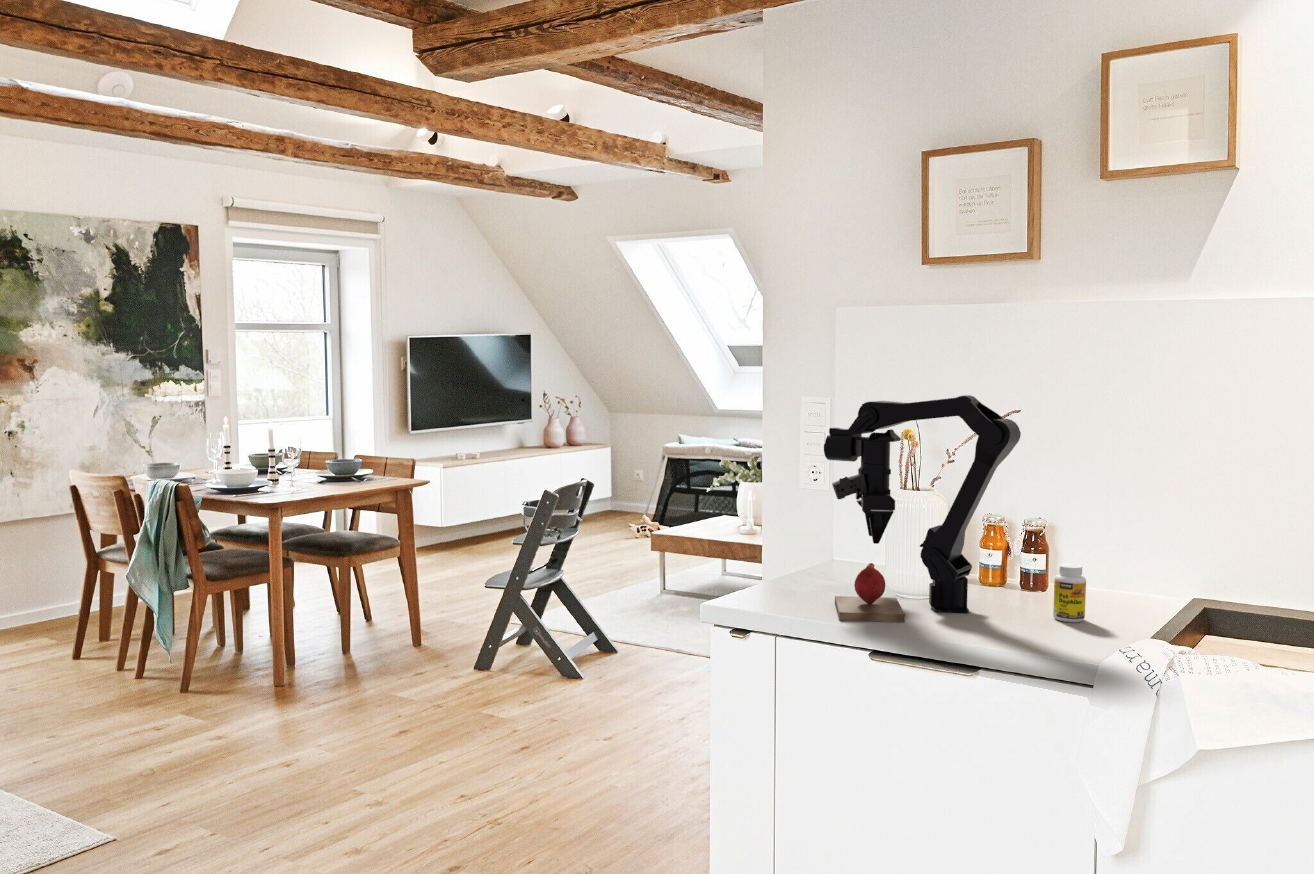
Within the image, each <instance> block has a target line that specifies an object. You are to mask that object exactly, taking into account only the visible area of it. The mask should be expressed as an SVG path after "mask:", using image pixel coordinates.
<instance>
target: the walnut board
mask: <svg viewBox="0 0 1314 874" xmlns="http://www.w3.org/2000/svg"><path fill="white" fill-rule="evenodd" d="M834 606H835V610H836V613H837V617H838V621H847V622H848V621H850V622H851V621H853V622H854V621H855V622H886V623H888V622H889V623H895V622H896V623H905V621H906V613H905V611H904V609H903V608H902V606H901V603H899V601H898V599H897V597H890V596H889V597H887V596H886V597H885V596H881V597H880V598H879V599H877V600H876V601H875V602H874V603H873V604H867V603H866V602H865V601H863V600H862V599H861V598H860V597H859V596H852V595H849V596H846V595H844V596H843V595H834Z"/></svg>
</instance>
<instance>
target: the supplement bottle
mask: <svg viewBox="0 0 1314 874" xmlns="http://www.w3.org/2000/svg"><path fill="white" fill-rule="evenodd" d="M1058 573H1059V574H1056V575H1055V576H1054V585H1053V589H1054V590H1053V608H1052V609H1053V610H1052V611H1053V612H1052V613H1053V618H1054V619H1055V620H1056V621H1061V622H1064V623H1065V622H1066V623H1080V622H1083V621H1084V620H1085V617H1086V615H1085V614H1086V598H1087V596H1086V594H1087V578H1086V577H1085V576H1084V575H1083V566H1081V565H1078V564H1074V563H1073V564H1072V563H1062V564H1059V569H1058Z"/></svg>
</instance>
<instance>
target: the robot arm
mask: <svg viewBox="0 0 1314 874" xmlns="http://www.w3.org/2000/svg"><path fill="white" fill-rule="evenodd" d="M950 417H959V418H960V419H961V420H963V422H964V423H965V424H966V426H968V428H969V429H970V430H971V431H973V433H975V434H976V435H977V440H976V442H975V451H974V459H973V462H972V464H971V466H970V468H969V470H968V472H967V474H966V476H965V478H964V480H963V483H962V484H961V486H960V488H959V490H958V493H957V495H956V497H955V498H954V500H953V503H952V505H951V506H950V509H949V511H948V513H947V515H946V516H945V518H944V521H943V522H942V524H939V525H936V526H933V527H929V528H928V529H927V533H926V536H925V538H924V540H923V542H922V543H921V544H920V545H919V547H920V548H921V551H920V558H921V561H922V563H923V565H924V566H925V568H926V569H927V571H928V575H929V578H930V580H932V582H930V583H929V584H928V585H929V589H928V593H929V594H928V597H929V598H928V604H929V606H930V607H931V608H932V610H933V611H934V612H946V613H947V612H950V613H952V612H954V613H969V612H970V609H969V608H968V588H969V585H968V584H969V580H968V579H969V578H968V577H966V576H970V574H971V571H972V569H973V565H972V564H971V562H970V561H969V560H968V559H967V558H966V557H965V556H964V555H963V554H962V552H963V549H964V545H965V539H966V538H965V537H966V536H965V535H966V530H967V528H968V526H969V524H970V522H971V519H972V517H973V515H974V514H975V512H976V510H977V508H978V507H979V504H980V502H981V499H982V497H983V496H984V493H985V492H986V490H987V489H988V486H989V484H990V482H991V480H992V478H993V476H994V473H995V472H996V471H997V468H998V467H999V466H1000V465H1001V464H1002V462H1003V461H1004V460H1005V459H1006V458H1007V457H1008V456H1009V455H1010V453H1011V452H1012V451H1013V450H1014V448H1015V447H1016V446H1017V445H1018V443H1019V442H1020V439H1021V435H1022V434H1021V431H1020V427H1019V426H1018V424H1017V422H1015V421H1013V420H1012V419H1010V418H1004V417H1002V416H1001V415H1000V414H999V413H997V412H996V411H995V410H993V409H991V408H989V407H988V406H986V405H985V404H983V402H981V401H980V400H978V398H976V397H975V396H973V395H970V394H969V395H967V394H965V395H959V396H957V397H949V398H940V399H932V400H925V401H924V400H923V401H914V402H901V401H889V400H875V401H867V402H864V403H862V404H861V405H860V407H859V410H858V413H857V417H856V418H855V419H854V421H853V422H852V424H851V425H850V427H848V428H841V427H836V426H835V427H829V430H828V434H827V436H826V438H825V441H824V443H823V453H824V457H825V458H826V459H827V460H828V461H837V462H838V461H839V462H851V463H852V462H857V460H858V458H860V466H859V468H858V469H857V470H858V471H857V472H858V473H857V474H854V475H851V476H845V477H842V478H839V479H838V480H836V481H833V482H831V485H832V488H833V490H834V493H835V496H836V499H837V500H842V499H845V498H846V497H848V496H852V495H853V494H855V499H856V503H857V504H858V506H860V507H861V510H862V512H863V514H864V515H865V522H866V527H867V531H868V536H869V537H871V538H872V543H873V544H877V545H878V544H880V542H881V539H882V538H883V535H884V533H885V530H886V529H887V526H888V525H889V522H890V520H891V518H892V516H893V515H894V512H895V511H896V500H895V498H893V496H892V495H891V489H890V475H891V474H892V469H891V468H890V466H891V465H890V464H891V463H890V462H891V459H890V458H891V443H896V442H900V441H902V440H901V439H902V438H901V437H900V436H899V435H898V434H896V433H895V431H894V429H888V428H891V427H895V426H898V425H901V424H904V423H907V422H911V421H921V420H930V419H931V420H933V419H939V418H940V419H941V418H942V419H943V418H950ZM884 429H887V430H886V431H885V432H875V431H876V430H884ZM862 434H863V435H864V434H870V435H869V436H862Z"/></svg>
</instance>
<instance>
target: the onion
mask: <svg viewBox="0 0 1314 874" xmlns="http://www.w3.org/2000/svg"><path fill="white" fill-rule="evenodd" d="M885 589H886V580H885V578H884V575H883V574H882V573H881V572H880V571H879V570H878V569H877V568H875V564H874V563H873V562H869V563H868V564H867V566H866V567H865V568H863V569H862V570H861V571H860V572H859V573H858V574H857V576H856V578H855V580H854V591H855V592H856V594H857V597H860V598H861V599H862V600H863V601H865V602H866V603H867V604H873V603H874V602H875V601H876V600H877V599H879V598H880V597H883V595H884V593H885Z"/></svg>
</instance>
